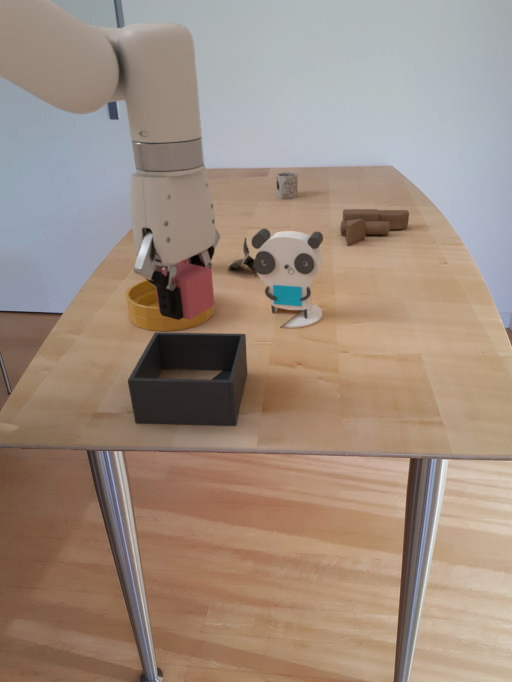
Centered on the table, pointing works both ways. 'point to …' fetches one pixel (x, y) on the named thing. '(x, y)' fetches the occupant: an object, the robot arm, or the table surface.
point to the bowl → (156, 310)
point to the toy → (193, 288)
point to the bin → (190, 394)
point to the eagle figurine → (245, 259)
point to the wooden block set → (371, 222)
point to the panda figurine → (289, 272)
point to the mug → (287, 185)
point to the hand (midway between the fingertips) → (186, 306)
